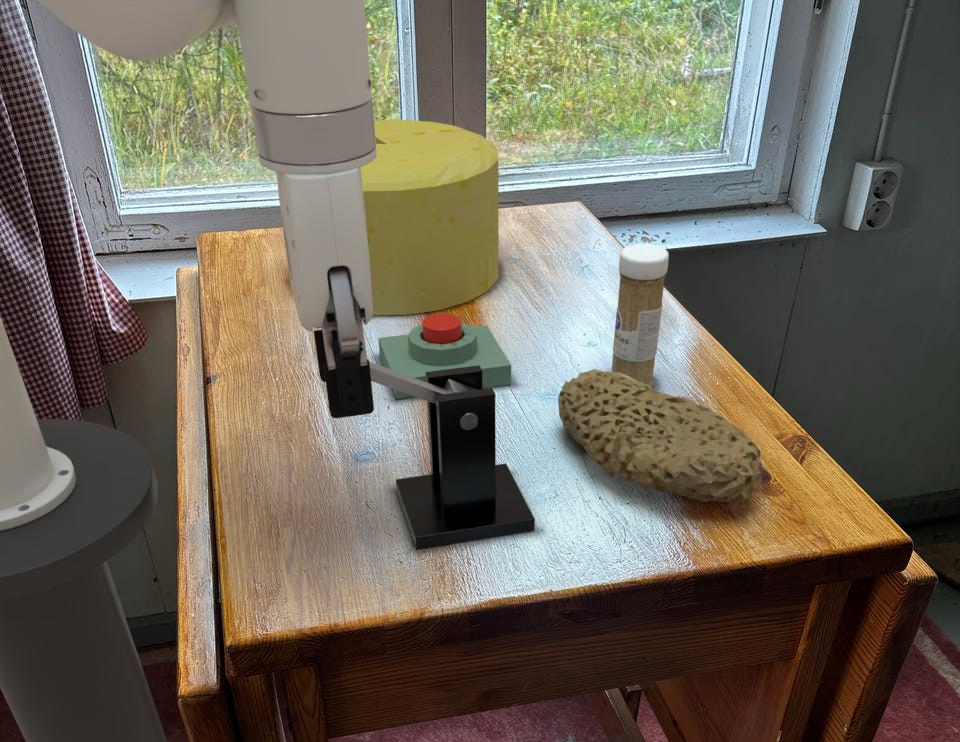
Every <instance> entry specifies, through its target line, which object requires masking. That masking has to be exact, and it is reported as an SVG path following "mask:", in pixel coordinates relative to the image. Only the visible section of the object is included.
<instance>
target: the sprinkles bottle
mask: <svg viewBox="0 0 960 742" xmlns="http://www.w3.org/2000/svg"><path fill="white" fill-rule="evenodd" d="M669 259H670V254H669V252H668V250H667V249H665V248H664V247H662V246H659V245H656V244H652V243H635V244H630V245H627V246H625V247H623V248H622V249H621V251H620V253H619V260H618V261H619V262H618V271H619V287H618V298H617V308H616V312H615V313H616V314H615V324H614V325H615V326H614V335H613V337H614V338H613V343H612V344H613V345H612V352H613V353H612V363H611V370H610V371H611V372H618V373H622V374H624V375H627V376H629V377H631V378H633V379H635V380H637V381H639V382H641V383H644V384H646V385H649V386H650V387H651V388H652V386H653V385H654V382H655V381H654V379H655V378H654V369H655V362H656V356H657V352H658V344H659V343H658V342H659V336H660V328H661V319H662V310H663V297H664V296H663V294H664V286H665V278H666V275H667V273H668V268H669Z"/></svg>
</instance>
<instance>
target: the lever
mask: <svg viewBox="0 0 960 742" xmlns="http://www.w3.org/2000/svg"><path fill="white" fill-rule="evenodd" d="M334 340H338V338H335V339H333V340H332V342H333V345H334ZM369 363H370V374H371V382H373V383H375V384H378V385H381V386H385V387H387V388H390V389H392V390H393V389H395V390H398V391H401V392H404V393H407V394H409V395H412V396H415V397H414V398H418V399H421V400H424V401H426V402H427V401H429V402H432V403H435V404H436V395H442V394H450V393H458V392H465V391H473V390H477V389H474V388H472V387H469V386H466V385H464V384H461V383H458V382H456V381H453V380H450V379H448V381H447V383H446V385H445V387H444V389H443V388H440V387H438V386H435V385H432V384H429V383H427V382H424V381H421V380H418V379H416V378H413V377H410V376H408V375H405V374H402V373H399V372H397V371H394V370H391V369H388V368H386V367H384V366H383V365H380V364H377V363H374V362H372V361H369ZM436 406H437V405H436Z"/></svg>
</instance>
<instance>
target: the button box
mask: <svg viewBox="0 0 960 742" xmlns="http://www.w3.org/2000/svg"><path fill="white" fill-rule="evenodd" d="M461 323H462V339H461V340H459V341H457V342H454V343H449V344H433V343H428V342H426V341H424V340H423V327H422V323H420V324H419V325H416V326H414V327H413V328H412V329H411V330H410V331H409V333H408V334H400V335H392V336H391V335H390V336H383V337H378V339H377V340H378V350H379V351H378V352H379V358H380V361H381V364H382V366H383V367H386V368H388V369H391V370H394V371H397V372H399V373H402V374H405V375H408V376H410V377H413V378H416V379H418V380H421V381H424V382H426V372H430V371H438V370H446V369H454V368H462V367H470V366H478V365H479V366H480V367H481V369H482V376H483V389H488V388H495V387H502V386H503V387H505V386H511V385H512V363H511V362H510V360H509V359H508V357H507V356H506V354H505V352H504V351H503V349H502V347H501V345H500V344H499V342H498V341H497V339H496V338H495V336H494V334H493V332H492V331H491V329H490V328H489V326H488V325H487V324H484V325H477V326H476V325H475V326H471V325H468V324H466V323H464V322H462V321H461ZM392 392H393V395H394V397H395V399H396V400H403V399H410V398H416V397H415V396H412V395H409V394H407V393H404V392H401V391H398V390H395V389H392Z"/></svg>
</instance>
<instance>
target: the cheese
mask: <svg viewBox="0 0 960 742" xmlns="http://www.w3.org/2000/svg"><path fill="white" fill-rule="evenodd" d="M374 125H375V138H376V151H377V156H376V157H375V159H374V160H373V161H372V162H370V163H368V164H366V165H364V166H362V167H360V168H361V177H362V186H363V196H364V206H365V216H366V226H367V237H368V248H369V260H370V272H371V288H372V307H373V316H408V315H416V314H423V313H428V312H429V313H430V312H436V311H442V310H446V309H448V308H449V309H450V308H452V307H455V306H458V305H462V304H465V303H469V302H470V301H472V300H474V299H476V298H477V297H479V296H481V295H483V294H485V293H486V292H489V291H490V289H492V287H493V286H494V284H495V283H496V282H497V281H498V279H499V149H498V148H497V147H496V146H495V145H494V144H493V143H491V142H490V141H489V140H488V139H487V138H485V137H484V136H483V135H481V134H479V133H476V132H474V131H473V132H472V131H470V130H467V129H465V128H462V127H459V126H456V125H451V124H448V123H447V124H446V123H441V122H435V121H427V120H411V119H389V120H388V119H383V120H381V119H379V120H374Z"/></svg>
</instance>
